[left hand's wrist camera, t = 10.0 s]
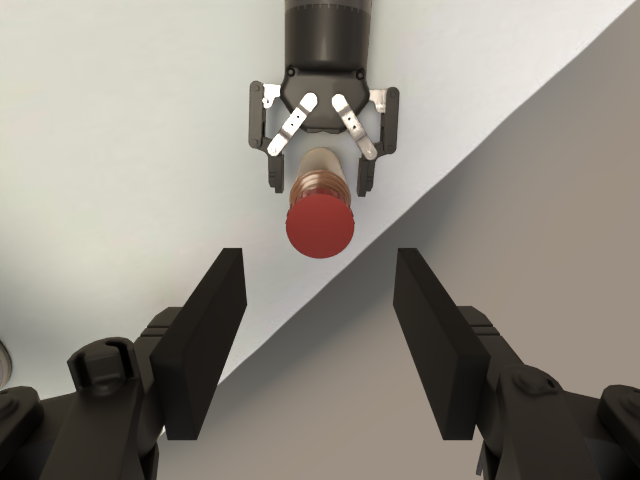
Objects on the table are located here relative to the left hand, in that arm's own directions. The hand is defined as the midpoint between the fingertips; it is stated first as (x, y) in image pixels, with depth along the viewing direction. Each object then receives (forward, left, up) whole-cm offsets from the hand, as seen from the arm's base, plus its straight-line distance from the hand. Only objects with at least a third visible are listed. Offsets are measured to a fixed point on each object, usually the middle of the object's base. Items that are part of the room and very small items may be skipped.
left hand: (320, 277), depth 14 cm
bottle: (0, 0, -29) cm, 29 cm away
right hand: (-1, -1, -22) cm, 22 cm away
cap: (0, 0, -7) cm, 7 cm away
